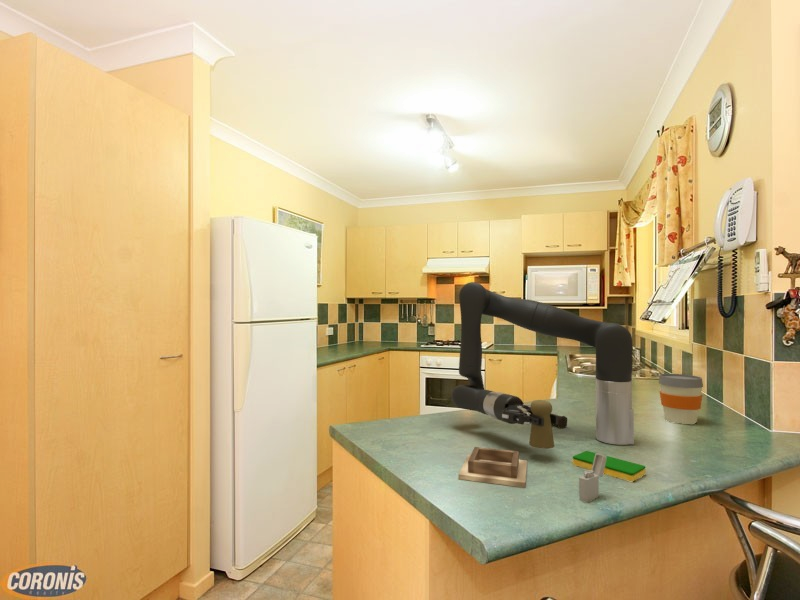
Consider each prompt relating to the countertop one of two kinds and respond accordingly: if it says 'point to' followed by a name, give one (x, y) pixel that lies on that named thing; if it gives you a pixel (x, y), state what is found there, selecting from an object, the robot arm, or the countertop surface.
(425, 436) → the countertop surface
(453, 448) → the countertop surface
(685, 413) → the reusable coffee cup
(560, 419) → the hand tool
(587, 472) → the lighter
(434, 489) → the countertop surface
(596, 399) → the robot arm
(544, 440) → the cork
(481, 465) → the shaker stand
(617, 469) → the dish sponge
